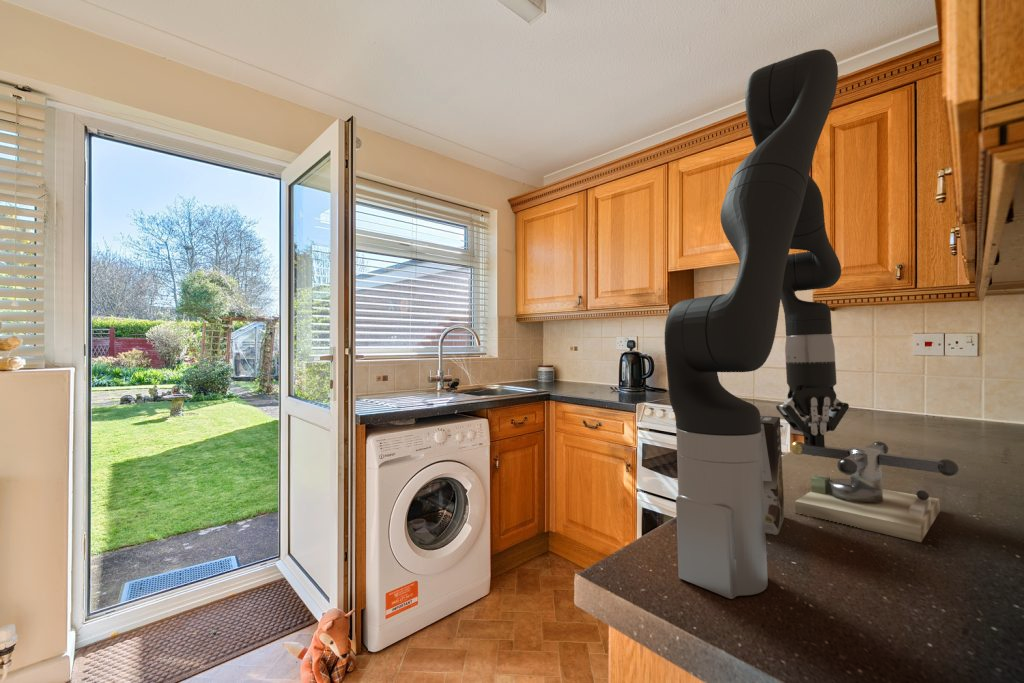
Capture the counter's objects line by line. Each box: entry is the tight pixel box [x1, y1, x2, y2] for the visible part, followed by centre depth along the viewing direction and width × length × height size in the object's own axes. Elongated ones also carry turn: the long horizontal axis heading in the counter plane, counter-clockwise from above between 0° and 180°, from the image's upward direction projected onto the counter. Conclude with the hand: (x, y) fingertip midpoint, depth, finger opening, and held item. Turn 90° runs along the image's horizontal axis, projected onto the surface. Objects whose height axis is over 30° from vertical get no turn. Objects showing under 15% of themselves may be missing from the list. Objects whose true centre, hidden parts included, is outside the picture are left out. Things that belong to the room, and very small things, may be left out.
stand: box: [794, 474, 941, 543], centre depth 70 cm, size 18×15×4 cm
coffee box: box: [760, 415, 785, 536], centre depth 68 cm, size 9×6×16 cm
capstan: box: [789, 440, 960, 502], centre depth 71 cm, size 22×22×8 cm
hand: (815, 454), depth 79 cm, fingers closed
